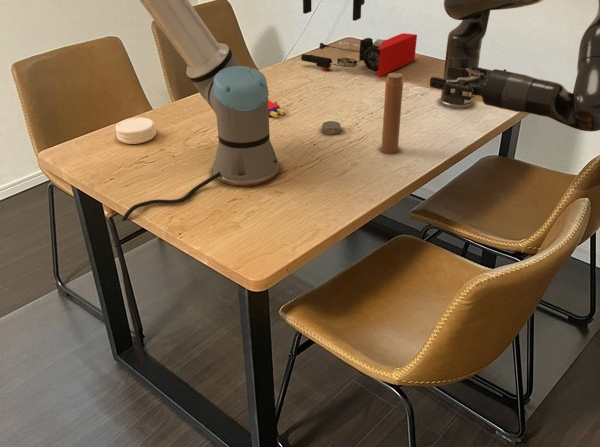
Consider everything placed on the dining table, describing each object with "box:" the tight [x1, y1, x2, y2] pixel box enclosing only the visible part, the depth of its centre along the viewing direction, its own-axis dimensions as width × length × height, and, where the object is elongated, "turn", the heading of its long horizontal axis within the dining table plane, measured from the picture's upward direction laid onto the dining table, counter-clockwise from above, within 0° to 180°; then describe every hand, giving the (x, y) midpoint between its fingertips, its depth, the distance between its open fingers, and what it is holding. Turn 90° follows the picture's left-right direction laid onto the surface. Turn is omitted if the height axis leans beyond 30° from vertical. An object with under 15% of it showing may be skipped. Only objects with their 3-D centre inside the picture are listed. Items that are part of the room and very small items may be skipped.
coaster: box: [114, 116, 157, 145], centre depth 162 cm, size 10×10×4 cm
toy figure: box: [268, 99, 286, 118], centre depth 176 cm, size 2×7×12 cm
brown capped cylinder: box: [381, 72, 404, 154], centre depth 149 cm, size 4×4×19 cm
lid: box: [321, 120, 341, 136], centre depth 164 cm, size 5×5×2 cm
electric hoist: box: [300, 32, 418, 78], centre depth 210 cm, size 10×27×30 cm
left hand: (331, 15), depth 149 cm, fingers open, 13 cm apart
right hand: (439, 76), depth 137 cm, fingers open, 8 cm apart
